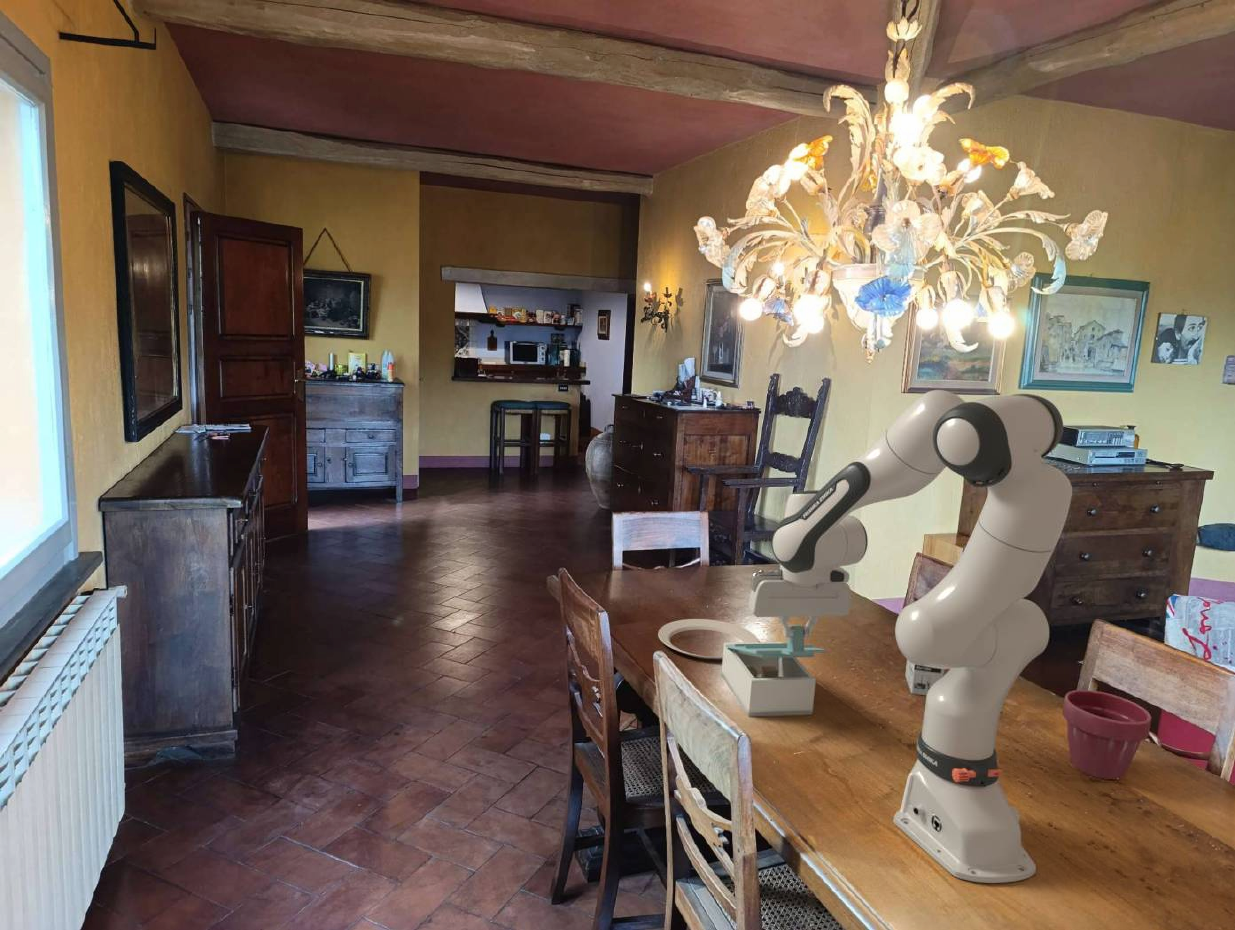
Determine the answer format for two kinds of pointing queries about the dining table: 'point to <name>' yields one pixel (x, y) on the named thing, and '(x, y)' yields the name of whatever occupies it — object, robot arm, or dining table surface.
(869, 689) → the dining table surface
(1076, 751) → the plant pot
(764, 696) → the tub
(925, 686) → the light bulb box
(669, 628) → the beige flat ring
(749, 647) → the lid
